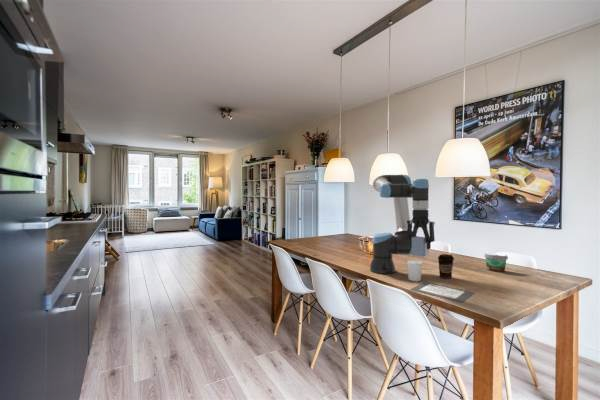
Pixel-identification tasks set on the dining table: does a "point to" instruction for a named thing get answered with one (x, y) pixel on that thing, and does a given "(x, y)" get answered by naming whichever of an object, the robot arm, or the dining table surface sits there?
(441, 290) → the letter
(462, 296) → the desk mat
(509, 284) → the dining table surface
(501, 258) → the food container
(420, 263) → the white cup
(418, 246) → the block
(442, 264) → the coffee cup
